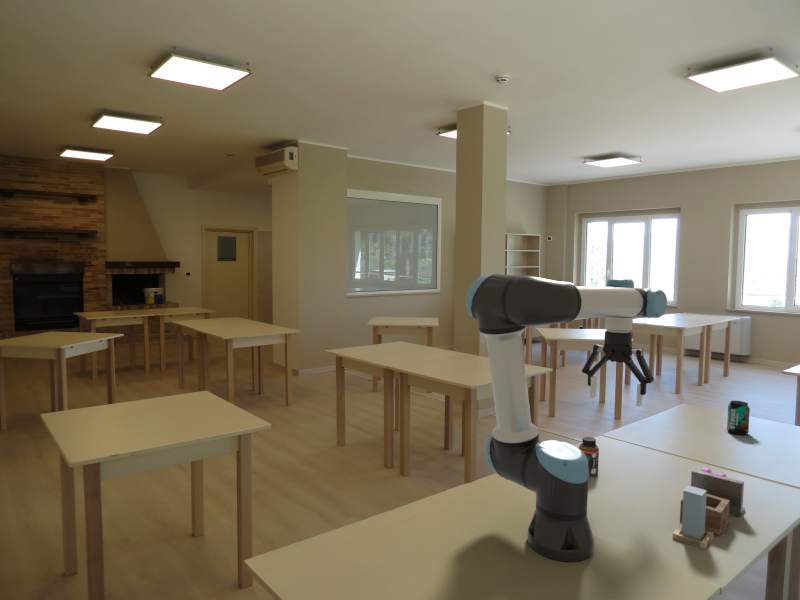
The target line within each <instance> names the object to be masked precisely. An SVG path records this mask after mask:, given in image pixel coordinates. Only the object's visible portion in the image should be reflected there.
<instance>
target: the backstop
mask: <svg viewBox="0 0 800 600" xmlns="http://www.w3.org/2000/svg"><path fill="white" fill-rule="evenodd" d="M690 476H691V479H690V486H693V487H696V488H700V489H704V490H707V494H709V495H713V496H716V497H720V498H724V499H727V500H730V509H729V515H732V516H736V517H739V518H741V517H742V515H743V514H744V512H745V511H746V509H745V507H744V506H743V505H744V504H743V503H744V487H745V486H744V485H745V482H744V481H743V480H739V479H735V478H731V477H723V476H719V475H717V474H716V473H713V472H711V473H708V472H704V471H701V470H700V469H695V468H694V469H692V470H691V475H690Z"/></svg>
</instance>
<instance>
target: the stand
mask: <svg viewBox="0 0 800 600" xmlns="http://www.w3.org/2000/svg"><path fill="white" fill-rule="evenodd" d="M672 539H675V540H677V541H680V542H683V543H686V544H690V545H692V546H694V547H698V548H700V549H703V550H706V549H707V548H708V545H709V544H710V543H711V542H712V540H713V539H714V533H712V532H709V531H705V536H704V539H703V540H702V541H700V540H697V539H694V538H691V537H688V536H685V535H682V523H680V524H679V526H678V527H677V528H676V529H675V530H674V531H673V533H672Z"/></svg>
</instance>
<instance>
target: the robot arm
mask: <svg viewBox="0 0 800 600" xmlns="http://www.w3.org/2000/svg"><path fill="white" fill-rule="evenodd" d="M465 305H466V306H465V307H466V310H467V313H468V315H470V316H471V317H472V318H473V319H474V320H475V321H477V323H478V324H477V325H478V332H479V334H481V335H482V336H483V337H485V338H486V339H485V340H486V346H487V347H486V348H487V354H488V362H489V371H490V377H491V386H492V394H493V395H492V396H493V403H494V411H495V418H496V426H495V427H494V428H493V429H492V432H491V435H490V436H489V437H488V440H487V442H488V444H486V445H485V459H486V462H487V464H488V466H489V468H490V469H491V470H492V471H493V473H495V474H497V475H498V476H499V477H500V478H504V479H505V480H508V481H511V482H513V483H515V484H517V485H519V486H521V487H524V488H525V489H527V490H530V491H531V492H534V493H535V510H534V512H533V515H532V518H531V520H530V523H529V526H528V528H527V543H528V545H529V546H530V548H531V549H533V550H534V551H535V552H537V553H538V554H540V555H541V556H544V557H546V558H549V559H552V560H554V561H555V560H556V561H559V562H560V561H561V562H579V561H583V560H587V559H588V558H590V557H591V556H592V555H593V554H594V551H595V539H594V535H593V531H592V528H591V525H590V522H589V519H588V498H589V497H588V496H589V495H588V493H589V478H590V476H589V470H588V460H587V457H586V455H585V454H584V452H583V451H582V450H580V449H579V446H576V445H574V444H571V443H570V442H565V441H559V440H555V439H554V440H553V439H550V440H548V439H547V440H544V441H541V442H540V436H539V428H538V427H537V426H536V425H535V424H533V423H532V418H531V410H530V409H531V408H530V401H529V400H530V399H529V390H528V383H527V376H526V375H527V374H526V373H527V372H526V371H527V370H526V365H525V364H526V363H525V354H524V345H523V338H522V334H523V333H524V332H525V330H526V329H528V327H533V326H534V327H536V326H537V327H538V326H547V325H555V324H556V325H557V324H567V323H572V322H574V321H575V320H576V319H594V318H596V319H598V318H600V319H601V318H603V319H604V318H605V320H604V321H605V322H604V328H605V331H604V341H603V342H604V344H603V345H601V344H600V343H597V344H593V347H592V352H591V354H590V356H589V357H588V358H587V361H586V362H585V364H584V366H583V367H582V369H581V372H582V374H585V375H587V386H588V387H590V388H589V389H590V391H589V393H590V394H589V398H592V399H593V398H595V397H596V396H597V378H598V377H597V374H596V373H597V372H598V371H599V370H600V369H601V368H602V367H604V365H605V364H606V363H607V362H609V361H610V362H613V363H615V362H616V363H619V364H620V363H621V364H622V363H624V364H625V365H626V366H627V367H628V369H630V371H631V373H632V375H634V376H635V378H636V379H637V380H638V383H637V384H636V385H637V387H636V402H635V403H636V405H635V406H636V407H641V406H643V396H645V395H646V394H647V385H648V384H651V383H653V382H654V381H655V379H654V377H653V375H652V372H651V369H650V368H649V366H648V364H647V363H648V362H647V361H646V359H645V357H644V356H645V355H644V350H643V349H642V348H639V349H633V347H632V342H633V333H632V330H633V320H634V318H640V317H641V318H647V319H651V318H652V319H659V318H662V317H663V316H664V314H665V313H666V311H667V308H668V298H667V295H666V293H665V292H664V291H663V290H662V289H657V288H644V287H643V288H642V287H640V288H639V287H635V282H634V280H632V279H629V278H609V279H607V281H606V285H598V286H597V285H591V286H582V285H580V286H578V285H577V286H576V285H575V284H574V283H572V282H570V281H561V280H560V281H559V280H553V279H548V278H543V277H540V276H539V277H538V276H532V275H518V274H517V275H516V274H515V275H513V274H499V273H494V274H484V275H480V276H479V277H478V278H476V279H475V280H474V281H473V282H472V284H471V286H470V287H469V289H468V290H467V294H466V298H465ZM601 352H604V354H605V355H604V356H603V357H602V358H601V359H600V360H599V361H598V362H597V363H596V364H595V365H593V364H594V362H595V361H596V359H597V358H598V356H599V354H600V353H601ZM632 355H634V357H635V358H636V360H637V363H638V364H639V366H640V369H641V370H640V369H639V368H638V366H637V365H636V364H635V362H634V360H633V358H632V357H631V356H632ZM592 366H593V367H592ZM591 367H592V368H591ZM641 371H642V372H641ZM595 374H596V375H595Z"/></svg>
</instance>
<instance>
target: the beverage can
mask: <svg viewBox="0 0 800 600" xmlns="http://www.w3.org/2000/svg"><path fill="white" fill-rule="evenodd" d="M750 410H751V408H750V407H749V403H748V402H745V401H741V400H731V401H730V402H729V404H728V405H727V422H726V431H728V433H730V434H732V435H737V436H746V435H747V434H749V431H750V430H749V428H750V426H749V425H750Z"/></svg>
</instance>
